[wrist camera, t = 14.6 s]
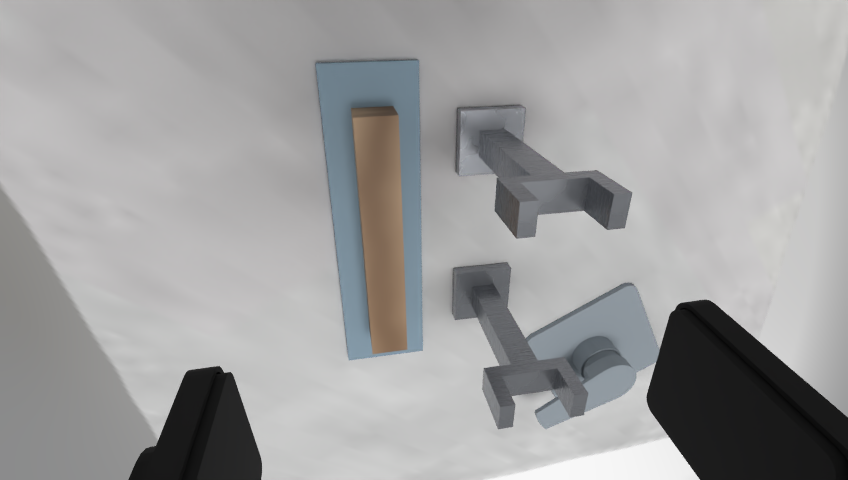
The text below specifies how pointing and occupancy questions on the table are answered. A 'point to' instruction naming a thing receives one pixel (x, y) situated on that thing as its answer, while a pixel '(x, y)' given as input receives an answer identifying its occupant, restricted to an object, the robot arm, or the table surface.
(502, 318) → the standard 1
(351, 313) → the mat
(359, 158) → the rail
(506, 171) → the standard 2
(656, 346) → the shower valve
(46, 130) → the table surface
